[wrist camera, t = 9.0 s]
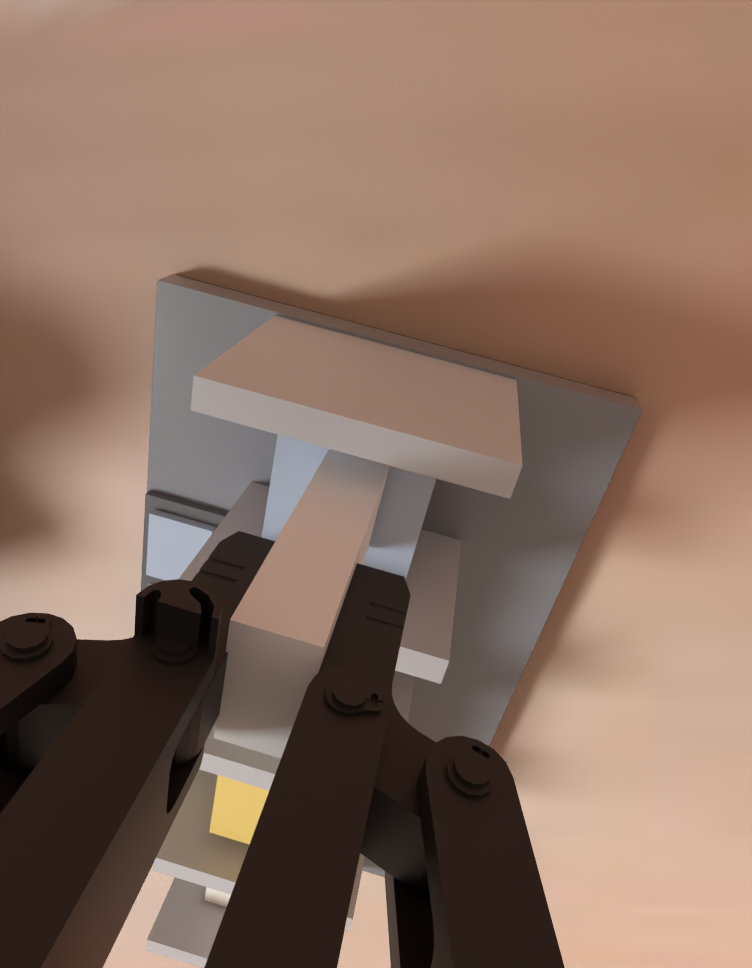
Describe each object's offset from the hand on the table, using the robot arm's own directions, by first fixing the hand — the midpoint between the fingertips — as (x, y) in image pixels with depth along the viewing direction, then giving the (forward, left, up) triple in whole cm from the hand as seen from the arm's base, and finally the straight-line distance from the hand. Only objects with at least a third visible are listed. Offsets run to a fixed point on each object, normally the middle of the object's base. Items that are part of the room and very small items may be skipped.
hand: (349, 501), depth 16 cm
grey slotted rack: (0, -9, -5) cm, 10 cm away
